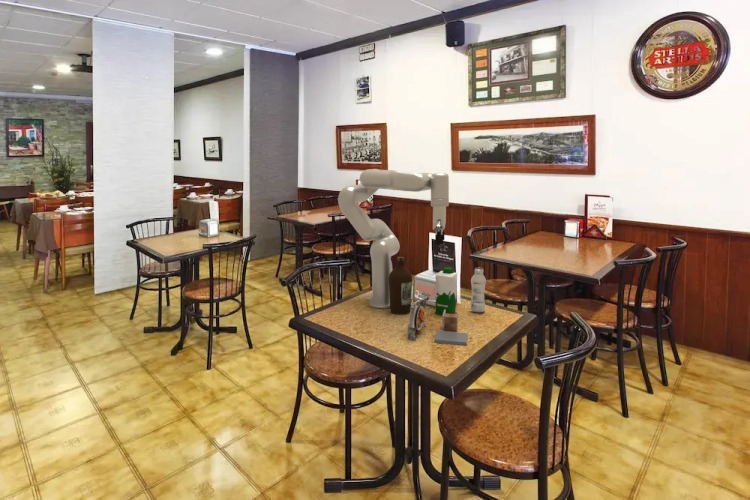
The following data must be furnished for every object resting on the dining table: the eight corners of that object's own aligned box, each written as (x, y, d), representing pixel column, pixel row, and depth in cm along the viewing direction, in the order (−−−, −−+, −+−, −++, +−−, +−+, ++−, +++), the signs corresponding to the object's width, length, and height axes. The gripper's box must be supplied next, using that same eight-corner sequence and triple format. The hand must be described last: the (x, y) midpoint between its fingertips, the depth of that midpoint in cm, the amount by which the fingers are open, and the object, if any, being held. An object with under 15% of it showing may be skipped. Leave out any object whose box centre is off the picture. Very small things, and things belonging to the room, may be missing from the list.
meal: (418, 341, 169) (418, 308, 167) (407, 339, 171) (407, 307, 168) (429, 327, 183) (429, 297, 180) (419, 326, 185) (419, 295, 182)
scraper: (442, 332, 178) (442, 315, 176) (443, 325, 185) (444, 309, 184) (456, 333, 176) (456, 317, 175) (457, 326, 184) (458, 310, 183)
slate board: (434, 342, 168) (434, 339, 168) (436, 333, 177) (436, 330, 177) (466, 345, 165) (466, 342, 165) (467, 336, 174) (467, 333, 174)
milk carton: (457, 310, 203) (459, 268, 199) (451, 316, 195) (452, 272, 191) (439, 307, 207) (440, 265, 203) (432, 313, 199) (433, 270, 195)
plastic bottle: (486, 314, 198) (488, 270, 194) (471, 314, 198) (472, 270, 194) (483, 309, 204) (485, 266, 200) (468, 309, 204) (470, 266, 200)
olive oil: (383, 311, 203) (383, 257, 198) (399, 305, 210) (400, 253, 205) (401, 316, 195) (401, 261, 190) (416, 311, 203) (417, 257, 197)
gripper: (432, 200, 199) (432, 238, 202) (429, 204, 182) (429, 245, 185) (449, 200, 197) (449, 238, 200) (447, 204, 180) (447, 245, 184)
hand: (440, 242), depth 193 cm, fingers open, 9 cm apart
